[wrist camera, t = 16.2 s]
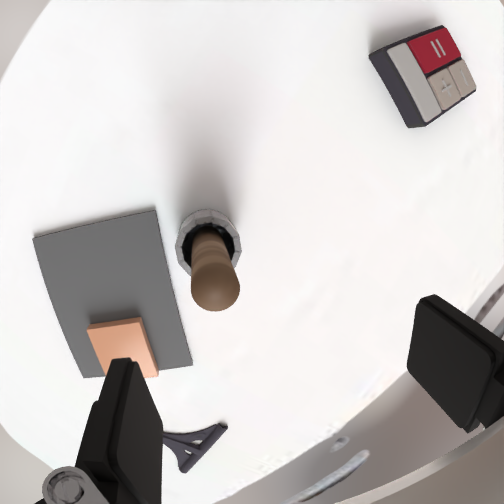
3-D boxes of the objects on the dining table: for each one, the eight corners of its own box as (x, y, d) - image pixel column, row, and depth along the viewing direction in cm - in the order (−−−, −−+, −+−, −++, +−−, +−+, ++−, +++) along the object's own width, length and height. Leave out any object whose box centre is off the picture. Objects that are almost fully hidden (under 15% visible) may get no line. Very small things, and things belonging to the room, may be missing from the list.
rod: (189, 228, 33) (186, 270, 20) (219, 223, 34) (235, 261, 20) (195, 257, 34) (196, 315, 21) (224, 252, 34) (243, 306, 21)
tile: (86, 329, 33) (108, 381, 35) (139, 322, 34) (158, 376, 36) (90, 323, 35) (110, 374, 37) (141, 316, 35) (159, 369, 38)
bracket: (137, 388, 39) (135, 401, 37) (227, 423, 44) (229, 435, 41) (108, 439, 42) (106, 450, 39) (187, 467, 46) (187, 478, 43)
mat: (34, 238, 31) (32, 238, 31) (155, 210, 33) (154, 210, 32) (84, 376, 37) (83, 378, 36) (192, 363, 39) (192, 365, 38)
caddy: (174, 214, 33) (170, 223, 29) (230, 204, 34) (235, 211, 29) (184, 268, 35) (183, 284, 30) (238, 258, 36) (245, 273, 31)
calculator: (480, 89, 32) (428, 127, 31) (461, 92, 36) (407, 129, 35) (446, 23, 28) (384, 46, 28) (428, 30, 32) (366, 55, 32)
